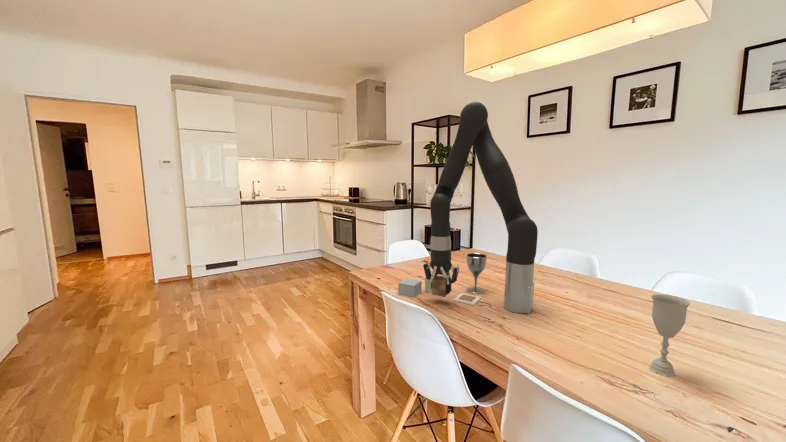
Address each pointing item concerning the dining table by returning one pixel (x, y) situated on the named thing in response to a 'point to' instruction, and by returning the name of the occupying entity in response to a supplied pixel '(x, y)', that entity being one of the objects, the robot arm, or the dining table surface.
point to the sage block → (428, 285)
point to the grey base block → (409, 287)
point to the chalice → (667, 326)
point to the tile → (467, 299)
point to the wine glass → (476, 268)
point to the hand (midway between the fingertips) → (441, 291)
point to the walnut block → (439, 286)
